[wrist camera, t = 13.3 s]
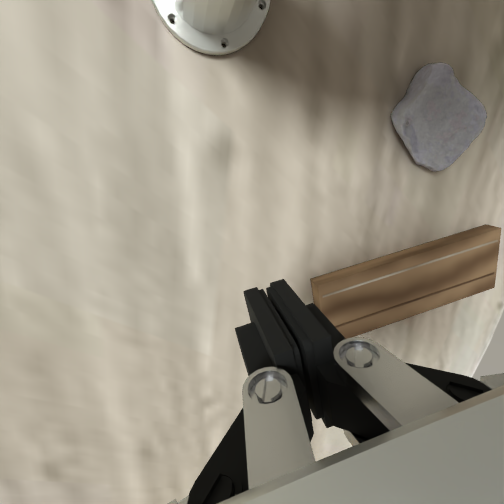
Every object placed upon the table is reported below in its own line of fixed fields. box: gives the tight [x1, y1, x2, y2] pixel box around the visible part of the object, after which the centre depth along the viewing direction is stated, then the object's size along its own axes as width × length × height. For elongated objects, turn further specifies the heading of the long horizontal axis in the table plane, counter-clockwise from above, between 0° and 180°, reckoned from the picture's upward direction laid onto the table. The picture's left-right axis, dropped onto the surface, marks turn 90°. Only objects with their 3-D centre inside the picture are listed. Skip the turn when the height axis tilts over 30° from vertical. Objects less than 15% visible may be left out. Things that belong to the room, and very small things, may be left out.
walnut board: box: [311, 225, 501, 339], centre depth 47 cm, size 11×32×3 cm, turn 102°
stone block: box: [391, 63, 487, 171], centre depth 39 cm, size 12×5×10 cm
